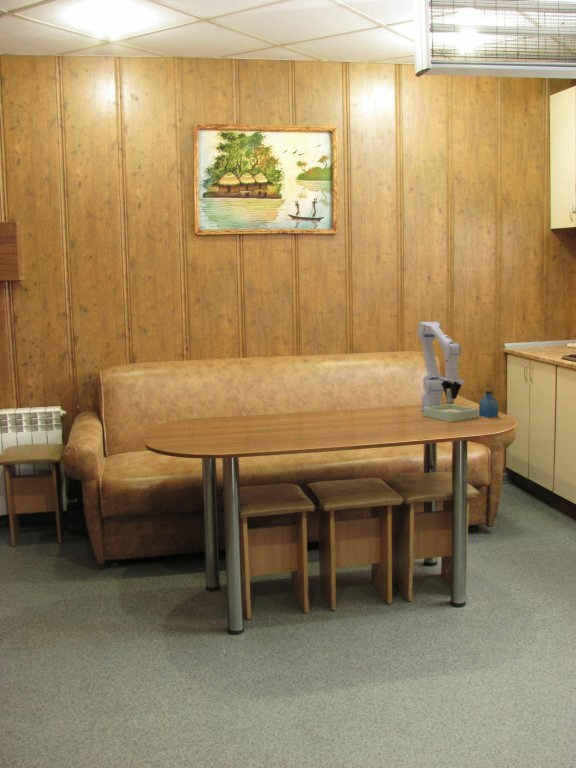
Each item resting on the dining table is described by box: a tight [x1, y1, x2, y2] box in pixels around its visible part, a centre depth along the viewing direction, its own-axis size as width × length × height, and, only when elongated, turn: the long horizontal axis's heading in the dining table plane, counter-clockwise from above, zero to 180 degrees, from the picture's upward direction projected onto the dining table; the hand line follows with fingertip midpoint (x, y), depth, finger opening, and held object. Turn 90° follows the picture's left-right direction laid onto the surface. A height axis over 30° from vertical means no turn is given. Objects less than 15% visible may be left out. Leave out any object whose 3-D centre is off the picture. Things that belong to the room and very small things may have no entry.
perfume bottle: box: [478, 390, 499, 419], centre depth 380 cm, size 6×6×12 cm
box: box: [422, 403, 479, 423], centre depth 379 cm, size 18×18×4 cm
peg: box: [445, 388, 455, 405], centre depth 377 cm, size 4×4×7 cm
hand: (451, 398), depth 378 cm, fingers closed on peg, 4 cm apart
